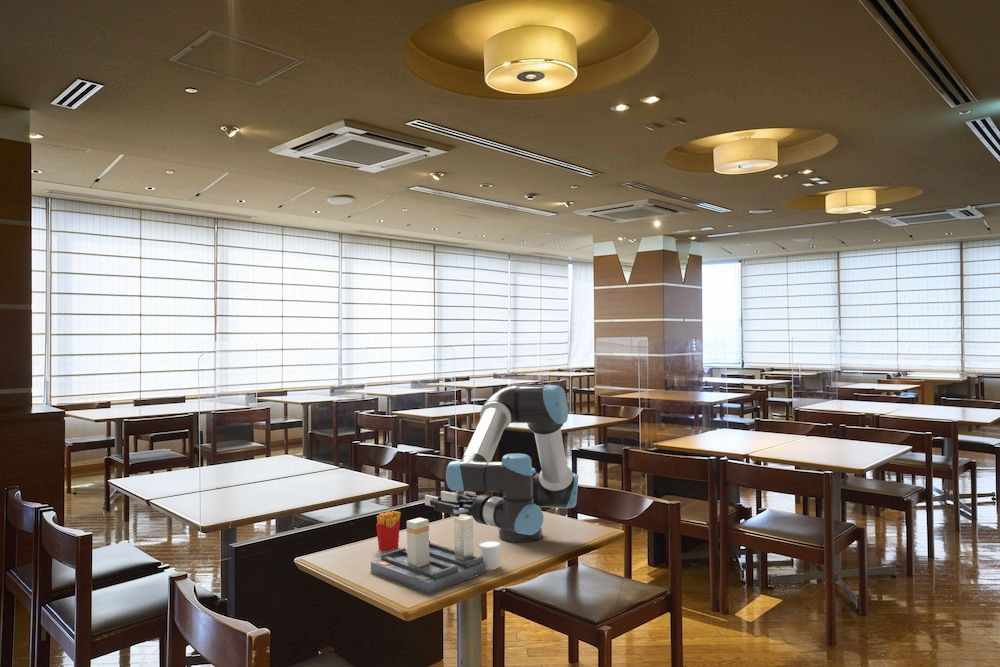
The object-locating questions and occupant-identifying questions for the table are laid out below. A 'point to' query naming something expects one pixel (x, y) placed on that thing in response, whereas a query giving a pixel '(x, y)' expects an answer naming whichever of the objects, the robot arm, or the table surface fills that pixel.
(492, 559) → the white short cylinder
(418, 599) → the table surface
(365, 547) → the table surface
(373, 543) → the table surface
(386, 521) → the french fries
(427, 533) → the handle
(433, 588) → the breaker panel
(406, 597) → the table surface
